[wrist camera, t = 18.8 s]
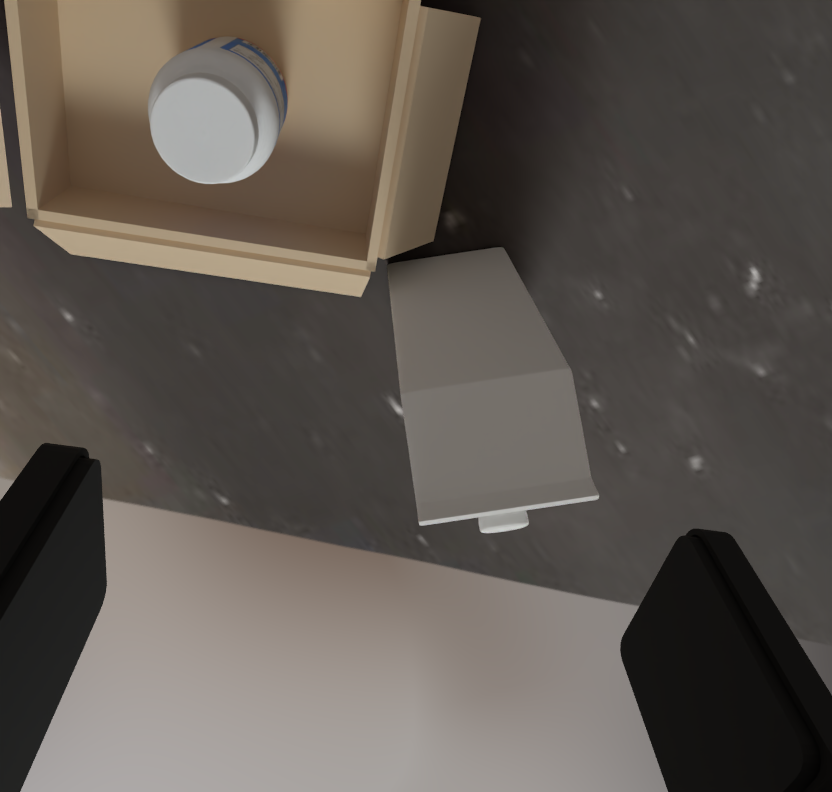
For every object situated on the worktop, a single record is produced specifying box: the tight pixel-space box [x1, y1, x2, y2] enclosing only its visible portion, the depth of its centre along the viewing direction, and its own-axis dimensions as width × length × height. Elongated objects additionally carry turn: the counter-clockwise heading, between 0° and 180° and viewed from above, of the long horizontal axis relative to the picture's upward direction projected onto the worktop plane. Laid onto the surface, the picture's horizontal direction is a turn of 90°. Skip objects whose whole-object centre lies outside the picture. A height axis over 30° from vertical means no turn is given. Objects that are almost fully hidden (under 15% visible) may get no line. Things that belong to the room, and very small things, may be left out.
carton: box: [4, 0, 481, 297], centre depth 33 cm, size 20×20×5 cm
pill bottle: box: [148, 36, 288, 184], centre depth 30 cm, size 6×5×10 cm
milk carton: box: [387, 247, 599, 533], centre depth 34 cm, size 7×7×19 cm
